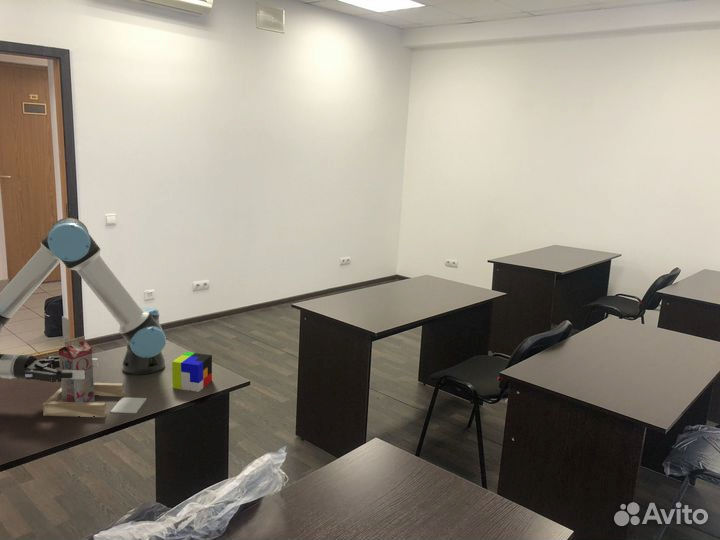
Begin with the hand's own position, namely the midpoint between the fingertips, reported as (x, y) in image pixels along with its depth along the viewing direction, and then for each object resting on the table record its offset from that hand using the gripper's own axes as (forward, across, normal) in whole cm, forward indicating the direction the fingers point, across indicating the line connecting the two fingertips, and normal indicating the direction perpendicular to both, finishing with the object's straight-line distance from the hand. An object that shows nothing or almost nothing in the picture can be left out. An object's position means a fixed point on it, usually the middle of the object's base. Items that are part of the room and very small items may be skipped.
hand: (90, 368), depth 173 cm
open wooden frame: (-2, 0, -13) cm, 13 cm away
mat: (+11, 0, -13) cm, 17 cm away
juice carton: (-5, 0, -12) cm, 13 cm away
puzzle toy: (+27, -18, -13) cm, 35 cm away
